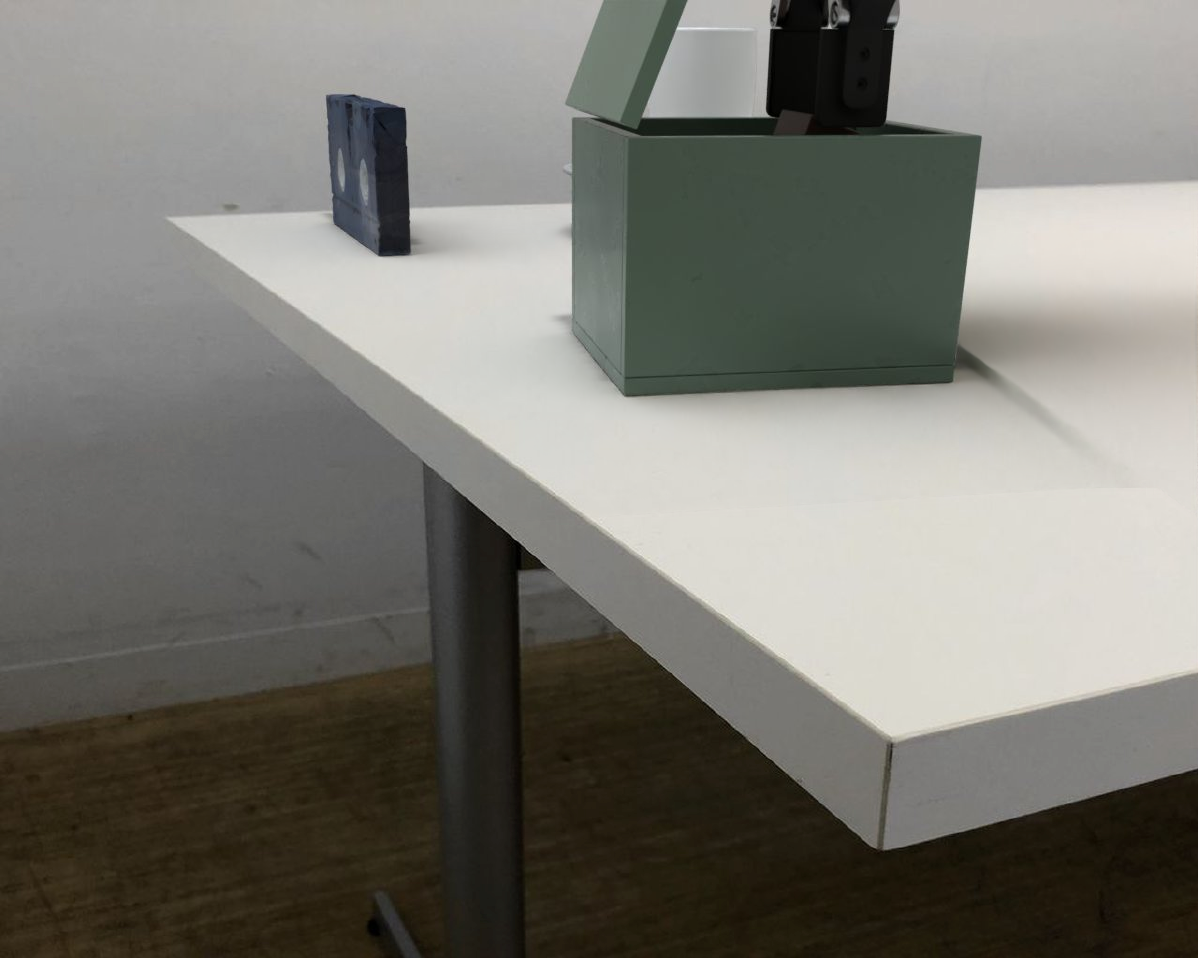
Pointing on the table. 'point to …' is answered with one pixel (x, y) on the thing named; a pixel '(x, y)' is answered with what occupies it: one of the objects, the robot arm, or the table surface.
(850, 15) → the robot arm
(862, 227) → the bin
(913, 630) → the table surface
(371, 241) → the vhs cassette tape
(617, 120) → the bin lid
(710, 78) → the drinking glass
